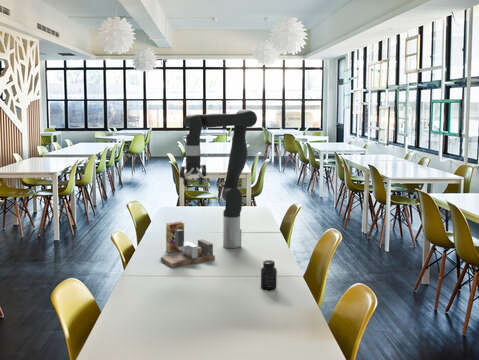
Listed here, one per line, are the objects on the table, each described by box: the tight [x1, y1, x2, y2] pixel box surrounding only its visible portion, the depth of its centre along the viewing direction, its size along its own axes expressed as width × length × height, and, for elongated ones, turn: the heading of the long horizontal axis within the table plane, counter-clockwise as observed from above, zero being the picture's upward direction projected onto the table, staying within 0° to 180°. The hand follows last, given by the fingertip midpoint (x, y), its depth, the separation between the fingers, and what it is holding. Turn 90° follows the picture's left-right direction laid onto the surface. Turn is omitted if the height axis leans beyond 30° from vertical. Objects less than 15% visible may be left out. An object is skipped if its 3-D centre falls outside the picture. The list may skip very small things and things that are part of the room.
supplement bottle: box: [260, 259, 278, 292], centre depth 222 cm, size 7×7×12 cm
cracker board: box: [160, 239, 216, 268], centre depth 259 cm, size 24×12×8 cm, turn 124°
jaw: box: [175, 229, 198, 259], centre depth 257 cm, size 9×10×14 cm
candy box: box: [165, 221, 185, 253], centre depth 274 cm, size 9×4×15 cm, turn 123°
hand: (193, 185), depth 265 cm, fingers open, 8 cm apart
